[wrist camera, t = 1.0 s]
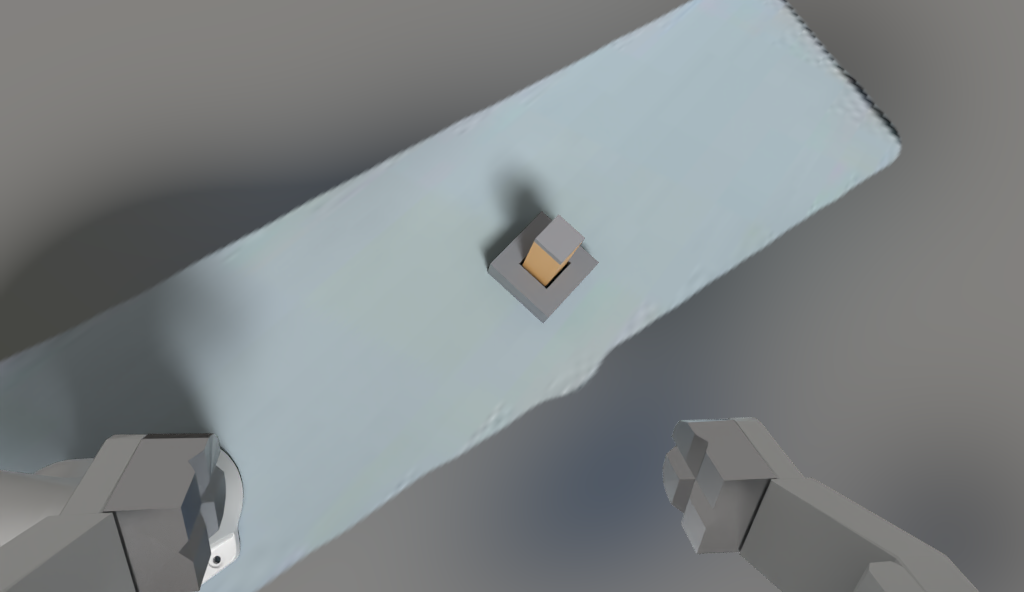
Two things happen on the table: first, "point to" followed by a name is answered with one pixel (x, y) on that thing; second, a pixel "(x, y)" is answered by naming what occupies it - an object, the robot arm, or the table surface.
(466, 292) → the table surface
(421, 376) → the table surface
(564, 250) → the plug
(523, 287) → the grey square block
